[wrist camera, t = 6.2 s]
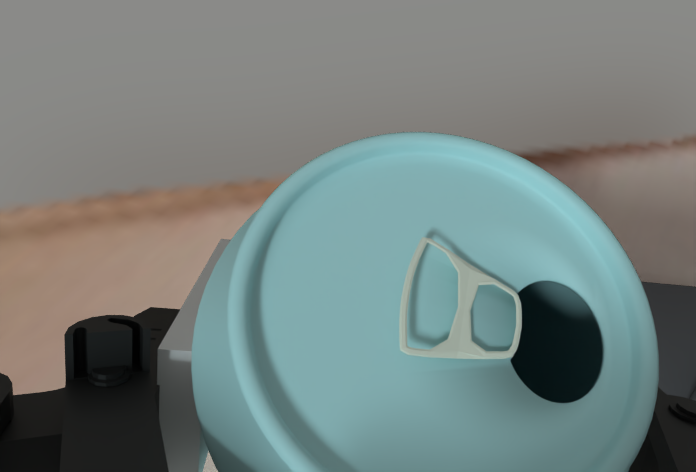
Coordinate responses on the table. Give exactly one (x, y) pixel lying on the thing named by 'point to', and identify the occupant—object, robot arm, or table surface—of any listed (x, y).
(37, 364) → the table surface
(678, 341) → the flange station
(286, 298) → the can
